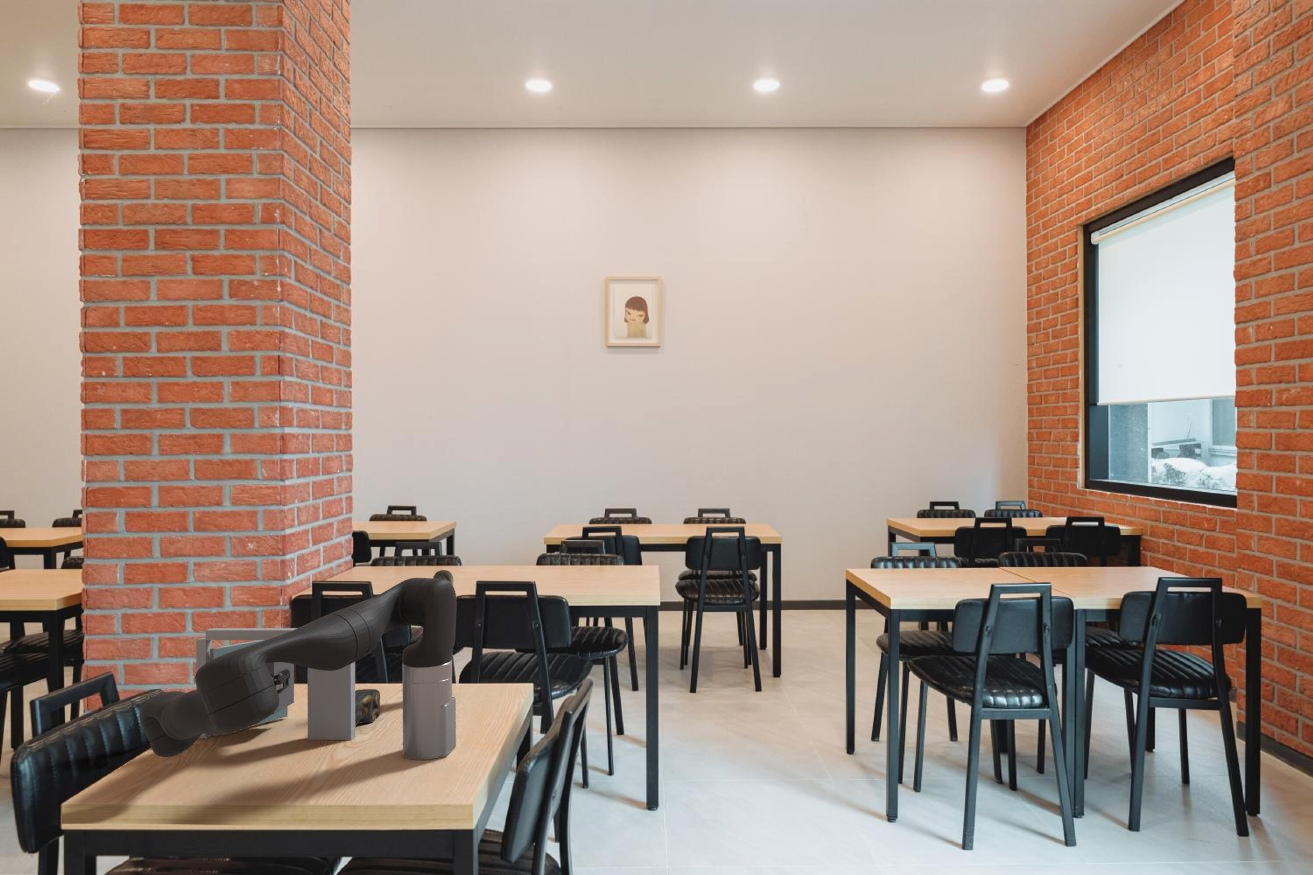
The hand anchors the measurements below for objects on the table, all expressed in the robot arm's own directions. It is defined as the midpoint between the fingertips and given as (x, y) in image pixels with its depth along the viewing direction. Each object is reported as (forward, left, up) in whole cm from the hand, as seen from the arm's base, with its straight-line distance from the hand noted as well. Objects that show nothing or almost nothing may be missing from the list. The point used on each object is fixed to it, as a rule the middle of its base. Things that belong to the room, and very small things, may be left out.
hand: (273, 673), depth 170 cm
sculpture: (-16, -3, -12) cm, 20 cm away
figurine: (-28, -23, -12) cm, 38 cm away
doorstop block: (0, +1, -7) cm, 7 cm away
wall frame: (-4, +5, -11) cm, 13 cm away
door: (+6, -1, -11) cm, 13 cm away
